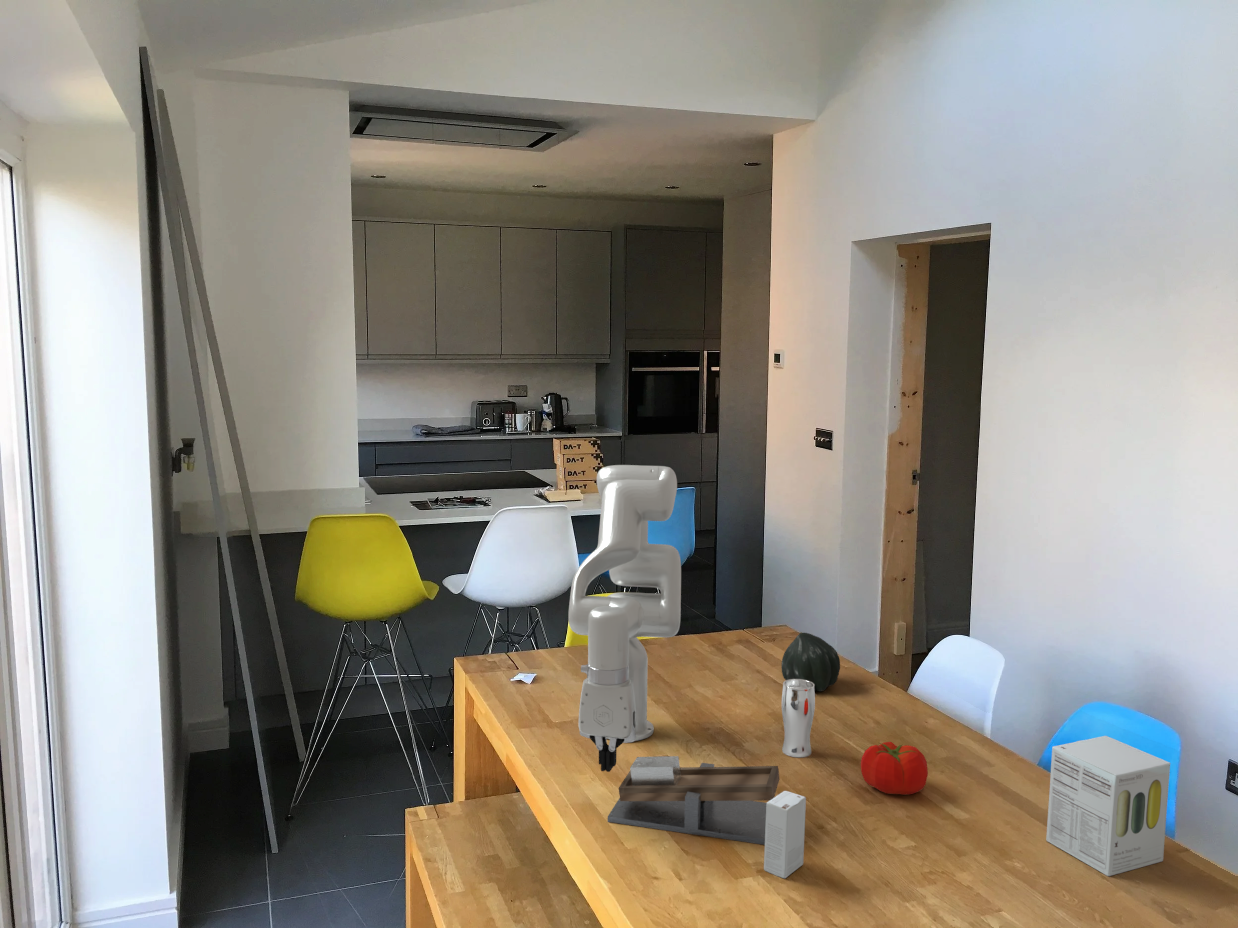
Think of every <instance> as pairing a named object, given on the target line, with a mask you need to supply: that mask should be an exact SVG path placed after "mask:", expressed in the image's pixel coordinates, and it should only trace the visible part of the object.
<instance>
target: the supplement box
mask: <svg viewBox="0 0 1238 928" xmlns="http://www.w3.org/2000/svg"><path fill="white" fill-rule="evenodd" d="M1050 762H1051V764H1050V777H1049V778H1050V779H1049V781H1050V782H1049V794H1048V795H1049V796H1048V797H1049V798H1048V807H1047V808H1048V810H1047V823H1046V824H1047V825H1046V838H1045V839H1046V842H1048V843H1050V844H1051V845H1053V846H1055V847H1056V848H1057V849H1059V850H1062V851H1064V853H1065V852H1066V853H1067V854H1069V855H1070V856H1072V857H1074V858H1076V859H1077V860H1079V861H1081V862H1083V863H1084V864H1087V865H1088V866H1089V867H1092V868H1093V869H1094V870H1097V871H1099V872H1100V873H1102V874H1104V876H1106V877H1111V876H1114V875H1119V874H1122V873H1125V872H1128V871H1133V870H1137V869H1140V868H1144V867H1146V866H1150V865H1153V864H1157V863H1161V862H1164V855H1165V853H1164V852H1165V840H1166V839H1165V838H1166V825H1167V814H1168V813H1167V811H1168V800H1169V799H1168V797H1169V796H1168V795H1169V786H1170V785H1169V783H1170V773H1171V772H1170V770H1171V762H1169V761H1167V760H1166V759H1165V760H1164V759H1162V758H1160V757H1157V756H1155V755H1153V754H1151V753H1148V752H1145V751H1143V750H1140V749H1139V748H1136V747H1134V746H1131V745H1129V744H1127V743H1125V742H1121V741H1120V740H1117V739H1115V738H1113V737H1109V736H1108V735H1103V736H1097V737H1093V738H1088V739H1087V738H1086V739H1083V740H1077V741H1074V742H1069V743H1065V744H1064V743H1063V744H1060V745H1053V746H1052V749H1051V761H1050Z"/></svg>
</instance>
